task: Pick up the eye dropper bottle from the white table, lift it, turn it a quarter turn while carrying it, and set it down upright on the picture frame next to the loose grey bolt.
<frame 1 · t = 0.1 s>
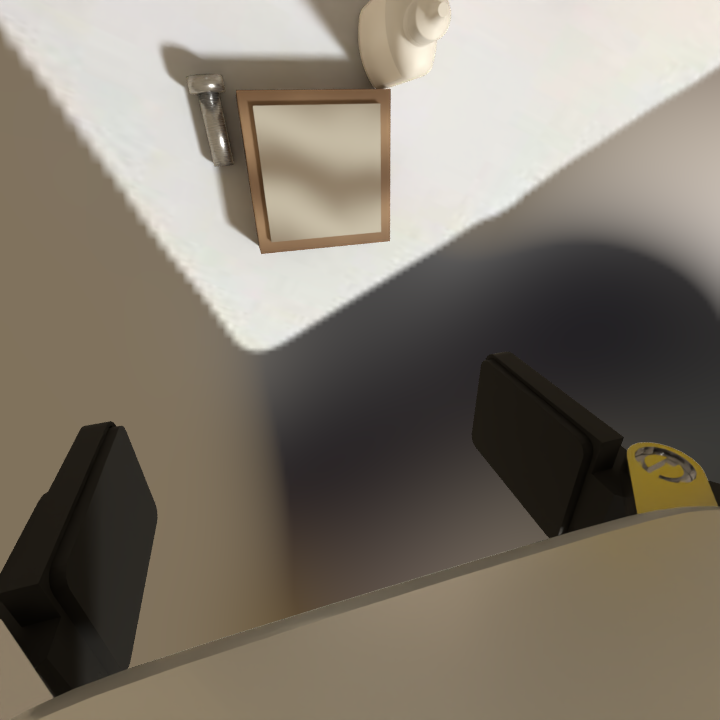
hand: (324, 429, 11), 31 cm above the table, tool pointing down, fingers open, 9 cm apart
eye dropper bottle: (377, 49, 33), on the table
picture frame: (316, 172, 36), on the table
loose bolt: (216, 130, 33), on the table
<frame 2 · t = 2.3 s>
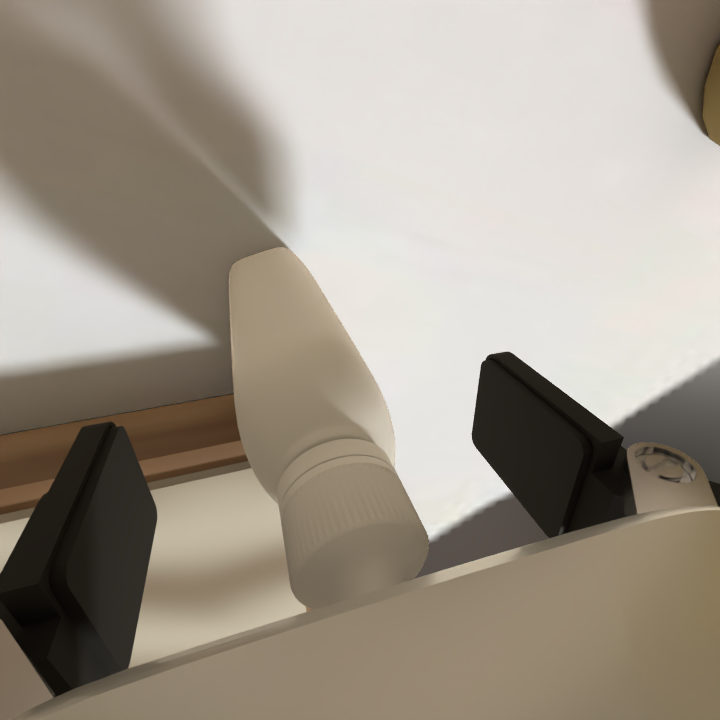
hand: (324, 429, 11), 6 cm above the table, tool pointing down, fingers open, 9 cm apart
eye dropper bottle: (283, 316, 16), on the table
picture frame: (177, 513, 19), on the table
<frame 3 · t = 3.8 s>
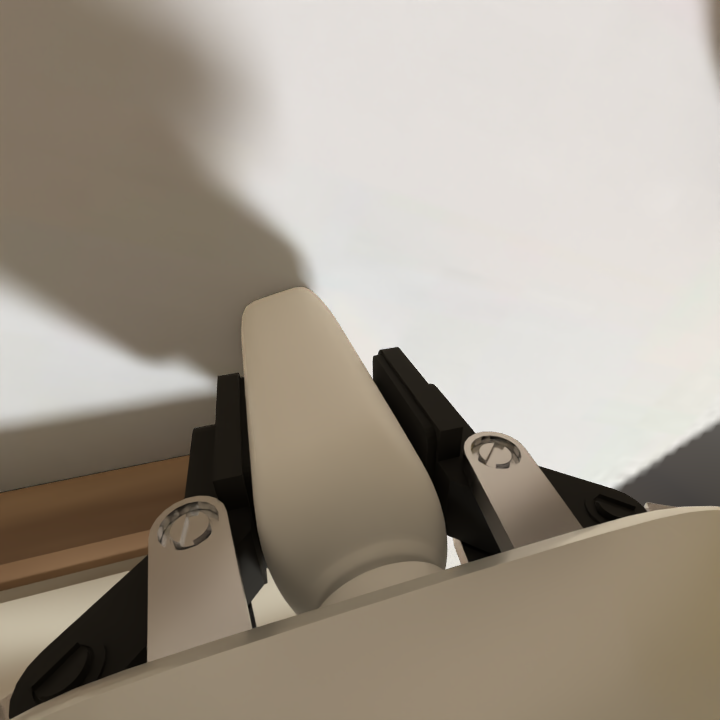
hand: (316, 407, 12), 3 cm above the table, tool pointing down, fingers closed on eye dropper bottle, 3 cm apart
eye dropper bottle: (300, 359, 14), on the table, touching gripper
picture frame: (181, 571, 17), on the table
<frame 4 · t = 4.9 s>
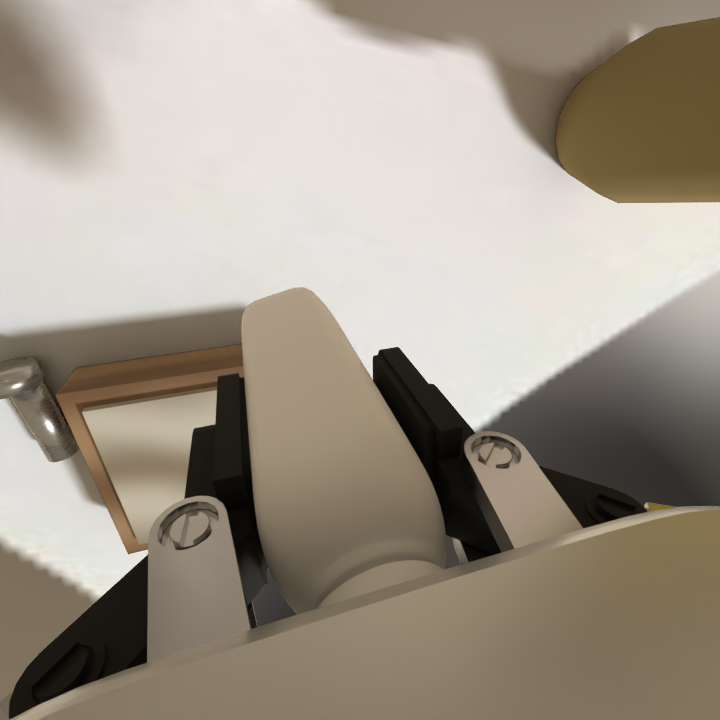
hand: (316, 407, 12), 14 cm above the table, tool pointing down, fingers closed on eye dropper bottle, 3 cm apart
eye dropper bottle: (299, 360, 14), point 11 cm above the table, touching gripper
squeeze bottle: (592, 127, 25), on the table
picture frame: (209, 432, 27), on the table
loose bolt: (53, 410, 23), on the table, tilted 16°
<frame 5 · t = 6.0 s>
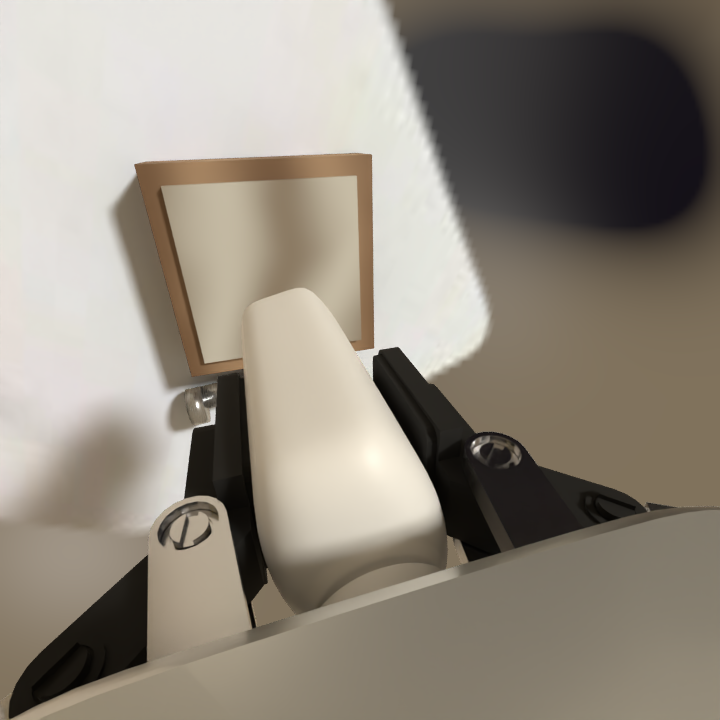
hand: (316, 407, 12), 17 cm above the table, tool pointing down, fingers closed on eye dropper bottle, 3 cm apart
eye dropper bottle: (300, 360, 14), point 14 cm above the table, touching gripper
picture frame: (271, 260, 26), on the table
loose bolt: (237, 377, 29), on the table, tilted 51°
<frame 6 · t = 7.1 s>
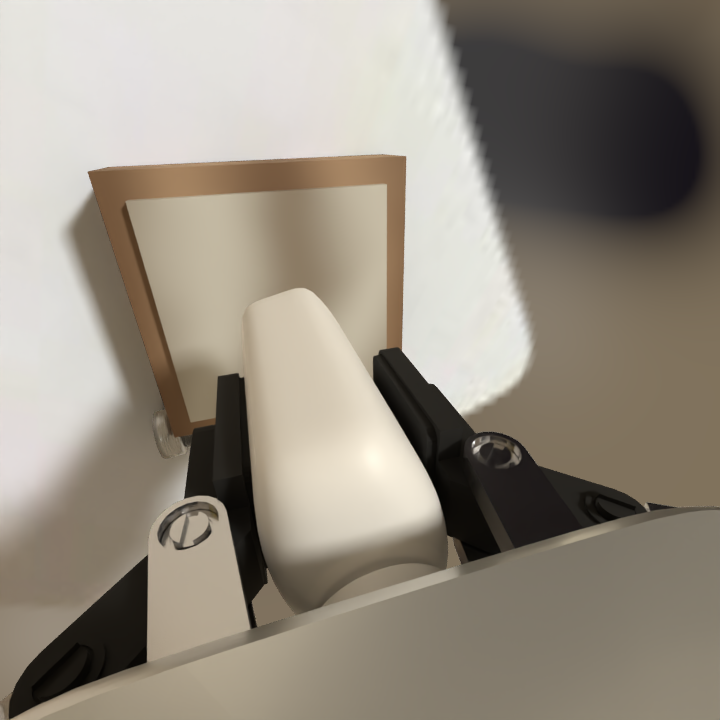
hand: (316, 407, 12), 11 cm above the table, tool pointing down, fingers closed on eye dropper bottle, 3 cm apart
eye dropper bottle: (300, 360, 14), point 8 cm above the table, touching gripper
picture frame: (274, 288, 21), on the table
loose bolt: (231, 426, 23), on the table, tilted 57°
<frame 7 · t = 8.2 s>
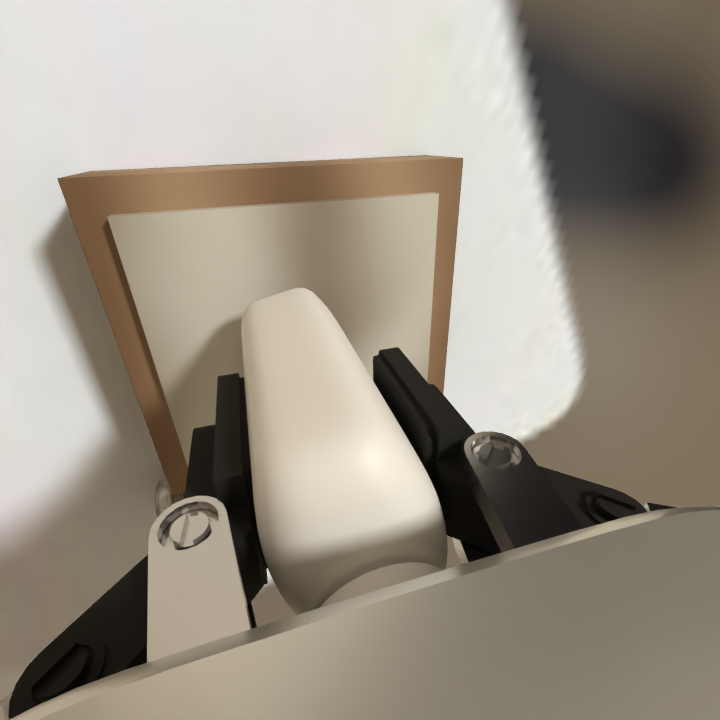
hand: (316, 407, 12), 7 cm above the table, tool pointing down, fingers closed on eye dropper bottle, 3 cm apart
eye dropper bottle: (300, 360, 14), point 4 cm above the table, touching gripper
picture frame: (292, 315, 18), on the table
loose bolt: (240, 467, 21), on the table
when the fingers open (7 cm above the table, at t = 8.5 s): eye dropper bottle stays where it is, resting on picture frame.
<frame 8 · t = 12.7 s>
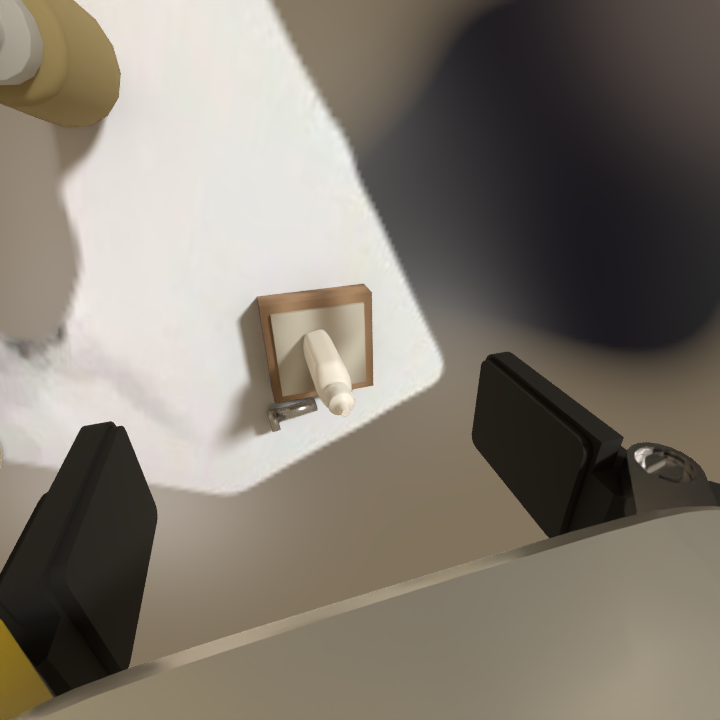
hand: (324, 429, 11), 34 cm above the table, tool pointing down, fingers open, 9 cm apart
eye dropper bottle: (318, 350, 45), point 3 cm above the table, touching picture frame
squeeze bottle: (73, 69, 31), on the table
picture frame: (316, 338, 48), on the table
loose bolt: (294, 404, 50), point 1 cm above the table, tilted 69°
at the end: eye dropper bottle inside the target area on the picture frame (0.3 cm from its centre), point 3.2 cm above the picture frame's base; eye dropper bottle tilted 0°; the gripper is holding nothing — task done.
